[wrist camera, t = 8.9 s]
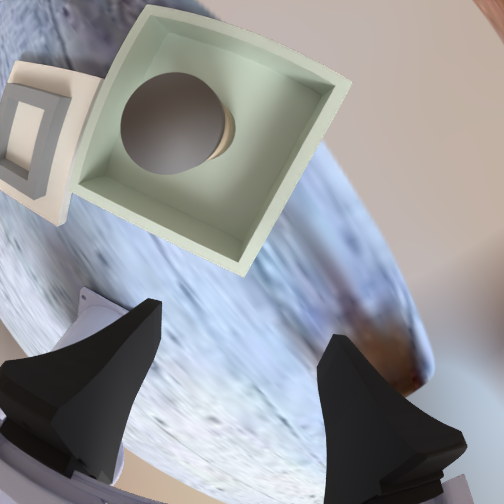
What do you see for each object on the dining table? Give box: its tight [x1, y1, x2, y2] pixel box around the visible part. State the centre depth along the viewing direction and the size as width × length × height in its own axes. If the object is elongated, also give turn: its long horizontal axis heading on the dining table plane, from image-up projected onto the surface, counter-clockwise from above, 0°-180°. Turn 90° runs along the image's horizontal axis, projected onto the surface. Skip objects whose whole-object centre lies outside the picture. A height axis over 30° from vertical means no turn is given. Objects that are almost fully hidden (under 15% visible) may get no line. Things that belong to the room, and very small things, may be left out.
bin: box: [68, 4, 353, 277], centre depth 15 cm, size 12×12×4 cm
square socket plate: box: [0, 61, 105, 227], centre depth 15 cm, size 12×12×3 cm
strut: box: [120, 72, 236, 175], centre depth 13 cm, size 4×4×7 cm
